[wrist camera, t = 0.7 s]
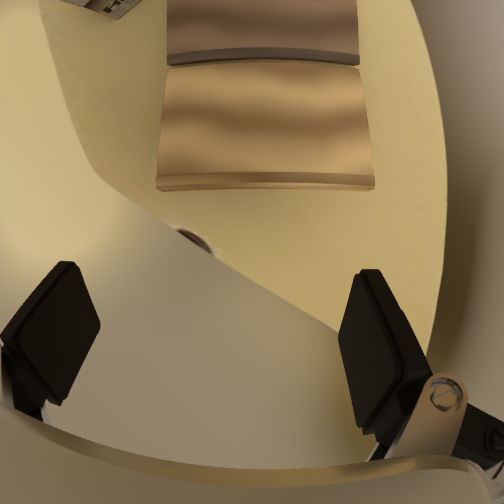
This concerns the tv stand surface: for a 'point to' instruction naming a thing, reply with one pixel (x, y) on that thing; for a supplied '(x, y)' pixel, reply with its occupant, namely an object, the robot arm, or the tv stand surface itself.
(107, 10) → the coffee box
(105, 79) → the tv stand surface
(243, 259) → the tv stand surface
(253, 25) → the walnut board
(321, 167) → the oak plank
